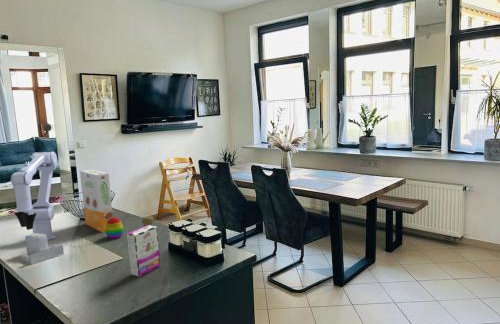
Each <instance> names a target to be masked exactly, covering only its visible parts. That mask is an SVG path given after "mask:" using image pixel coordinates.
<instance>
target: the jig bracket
mask: <svg viewBox="0 0 500 324" xmlns="http://www.w3.org/2000/svg"><path fill="white" fill-rule="evenodd" d="M62 254H63V255H64V254H65V253H64V245H62V244H59V245H57V246H56V245H54V244H48V249H46V250H42V251H39V252H36V253H32V254H29V255H28V254H27V252H22V253H20V258H21V259H22V260H23V261H25V262H27V263H28V264H29V265H31V266H32V265H34V264H37V263H38V264H39V263H41V262H44V261H47V260H50V259H49V258H51V259H53V258H52V257H54V258H56V256H57V257H59V255H60V256H63V255H62Z"/></svg>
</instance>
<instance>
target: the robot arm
mask: <svg viewBox="0 0 500 324" xmlns="http://www.w3.org/2000/svg"><path fill="white" fill-rule="evenodd" d="M57 163H58V157H57V154H56V152H55V151H48V152H47V151H44V152H43V151H42V152H33V153H32V159H31V161H30V162H29V163H24V164H23V166H22V167H21V168H20V169H19V170H18V171H17V172H14V173H12V175H11V176H10V183H11V185H12V188H13V190H14V193H15V194H14V195H15V199H16V200H15V202H16V209H14V210H13V211H14V215H15V216H16V218H17V219H18V222H19V225H20V227H21V228H26V230H27V231H30V230H32V234H33V233H37V234H46V235H47V241H50V240H53V239H56V238H57V236H55V235H53V229H52V221H53V218H54V216H55V207H54V205H53V204H52V203H51V202H49V201H50V196H51V187H52V182H53V174H54V171H55V170H56V169H57ZM37 170H38V172H39V171H40V172H41V174H40V175H41V176H40V180H39V182H40V183H39V186H38V187H39V188H38V194H37V199H36V202H34V203H33V204H32V196H31V187H30V185H31V183H32V179H33V176H34V175H36V173H37Z"/></svg>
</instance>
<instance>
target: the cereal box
mask: <svg viewBox="0 0 500 324" xmlns="http://www.w3.org/2000/svg"><path fill="white" fill-rule="evenodd" d="M79 176H80V185H81V194H82V203H83V212H84V213H83V214H84V221H85V225H86V226H89V227H90V228H92V229H95V230H97V231H98V232H99V233H100V232H101V233H106V224H107V222H108V221H109V219H110V218H112V217H113V207H112V206H113V205H112V195H111V185H110V174H109V172H105V171H100V170H96V169H85V170H79Z"/></svg>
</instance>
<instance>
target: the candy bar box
mask: <svg viewBox="0 0 500 324" xmlns="http://www.w3.org/2000/svg"><path fill="white" fill-rule="evenodd" d="M126 240H127V250H128V258H129V259H128V260H129V267H130V275H131V276H134V277H137V278H140V277H143V276H144V275H146V274H148V273H150V272H151V271H154V270H155V269H157V268H159V267H161V257H160V255H161V254H160V246H159V245H160V244H159V236H158V226H156V225H153V226H151V225H148V226H145V227H144V226H143V227H140V228H138V229H136V230H132V231H129V232H128V233H126Z"/></svg>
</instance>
